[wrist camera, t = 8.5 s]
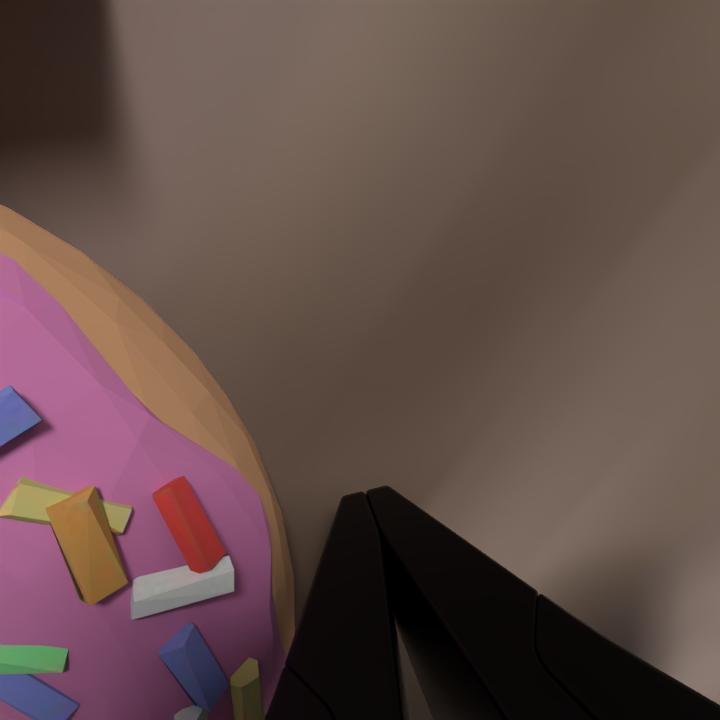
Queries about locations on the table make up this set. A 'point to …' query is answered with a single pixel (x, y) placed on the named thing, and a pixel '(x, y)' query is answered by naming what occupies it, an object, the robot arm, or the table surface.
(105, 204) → the table surface
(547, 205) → the table surface
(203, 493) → the donut
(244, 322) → the table surface
